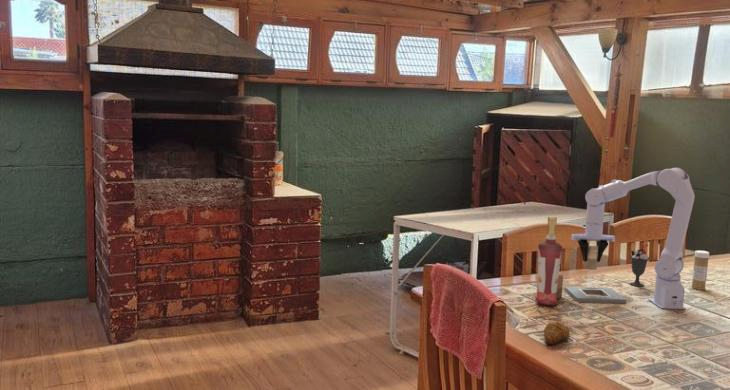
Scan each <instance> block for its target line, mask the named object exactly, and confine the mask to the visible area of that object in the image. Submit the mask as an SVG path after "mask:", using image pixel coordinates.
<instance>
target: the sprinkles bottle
mask: <svg viewBox="0 0 730 390" xmlns="http://www.w3.org/2000/svg"><path fill="white" fill-rule="evenodd" d="M709 259H710V252H709V251H706V250H701V249H700V250H695V252H694V261H693V262H694V264H693V271H692V277H691V278H692V282H691V288H692V289H693V290H699V291H703V290H705V289H706V282H707V276H708V269H709V268H708V267H709V266H708V265H709Z"/></svg>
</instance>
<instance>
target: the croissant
mask: <svg viewBox="0 0 730 390" xmlns="http://www.w3.org/2000/svg"><path fill="white" fill-rule="evenodd" d="M543 333H544V334H543V336H544V339H545V343H546V345H548V346H554V345H558V344H560V343H562V342H564V341H566V339H568V337H569V336H570V329H569V327H568V326H567V325H565V324H563V323H561V322H559V321H555V322H554V321H553V322H548V323H547V324H546V326H545V327H544V330H543Z"/></svg>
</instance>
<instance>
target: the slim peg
mask: <svg viewBox="0 0 730 390" xmlns="http://www.w3.org/2000/svg"><path fill="white" fill-rule="evenodd" d="M598 247H599V246H597V245H595V244H589V247H588V252H587V262H585V261H584V269H585V270H589V271H590V270H591V271H595V270H596V271H597V269H598V262H597V259H598Z"/></svg>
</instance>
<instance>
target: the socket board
mask: <svg viewBox="0 0 730 390" xmlns="http://www.w3.org/2000/svg"><path fill="white" fill-rule="evenodd" d="M564 291H565V293H567V294H568V295H569V296H570V297H571V298H572V299H573V300H574V301H576V302H577V303H607V304H610V303H611V304H612V303H613V304H626V303H627V299H626V298H625V297H624V296H622V295H621V294H619V292H618V291H616V290H615V289H613V288H611V287H590V286H589V287H584V286H564ZM588 294H589V295H588ZM590 294H597V295H590ZM598 294H601V295H598Z"/></svg>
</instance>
